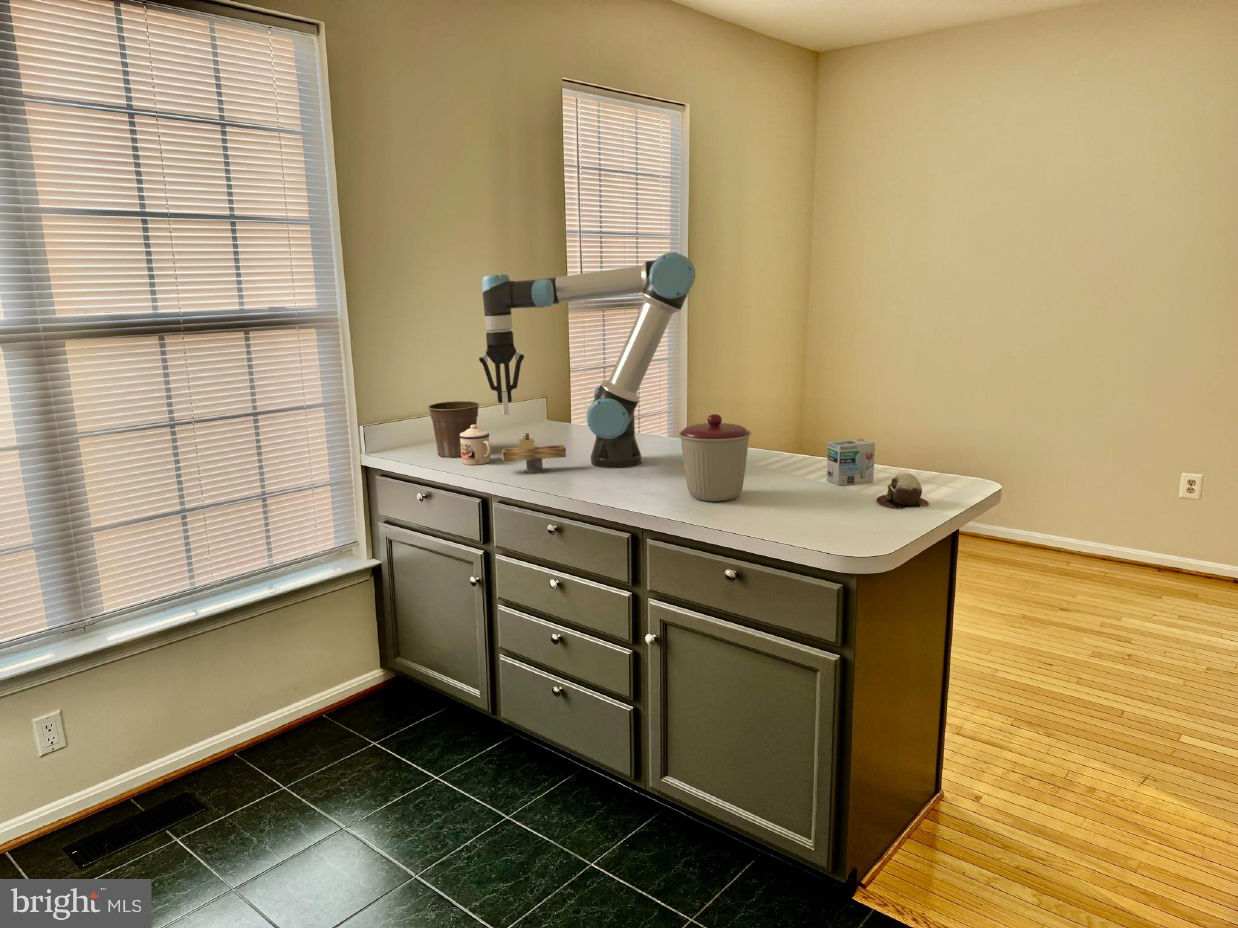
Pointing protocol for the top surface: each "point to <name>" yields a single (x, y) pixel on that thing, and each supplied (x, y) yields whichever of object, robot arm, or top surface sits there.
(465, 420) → the plant pot
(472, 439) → the teacup with lid
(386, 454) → the top surface
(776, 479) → the top surface
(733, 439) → the canister
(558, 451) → the beam
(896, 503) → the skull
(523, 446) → the rider
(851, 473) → the light bulb box
